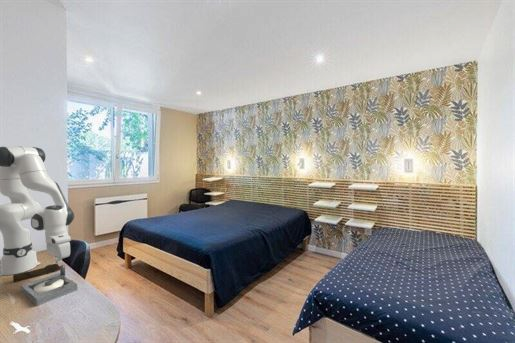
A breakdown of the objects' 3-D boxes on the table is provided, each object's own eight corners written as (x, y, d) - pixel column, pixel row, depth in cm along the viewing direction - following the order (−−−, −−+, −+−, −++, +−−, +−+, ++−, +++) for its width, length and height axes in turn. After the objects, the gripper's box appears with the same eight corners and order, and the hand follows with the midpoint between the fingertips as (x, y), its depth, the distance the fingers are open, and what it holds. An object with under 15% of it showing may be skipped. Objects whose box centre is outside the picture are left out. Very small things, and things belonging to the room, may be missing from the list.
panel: (21, 291, 118) (20, 285, 118) (60, 277, 131) (60, 272, 131) (37, 305, 106) (36, 298, 106) (78, 289, 120) (78, 283, 119)
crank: (27, 294, 113) (26, 278, 113) (54, 279, 128) (53, 264, 127) (50, 295, 113) (49, 278, 112) (74, 279, 127) (74, 265, 127)
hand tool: (13, 283, 126) (12, 275, 126) (13, 280, 129) (13, 272, 129) (60, 272, 139) (59, 264, 138) (59, 269, 142) (59, 262, 141)
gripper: (41, 235, 130) (43, 261, 131) (56, 241, 119) (59, 269, 120) (56, 232, 136) (58, 257, 136) (72, 237, 125) (74, 264, 125)
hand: (58, 262), depth 128 cm, fingers closed
